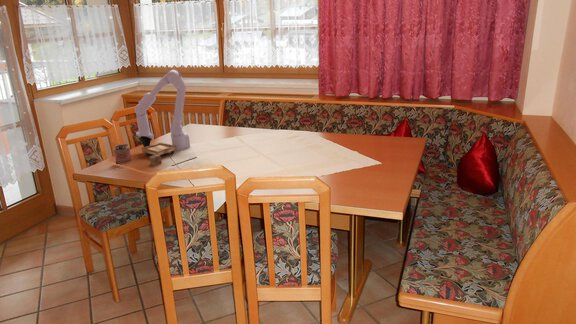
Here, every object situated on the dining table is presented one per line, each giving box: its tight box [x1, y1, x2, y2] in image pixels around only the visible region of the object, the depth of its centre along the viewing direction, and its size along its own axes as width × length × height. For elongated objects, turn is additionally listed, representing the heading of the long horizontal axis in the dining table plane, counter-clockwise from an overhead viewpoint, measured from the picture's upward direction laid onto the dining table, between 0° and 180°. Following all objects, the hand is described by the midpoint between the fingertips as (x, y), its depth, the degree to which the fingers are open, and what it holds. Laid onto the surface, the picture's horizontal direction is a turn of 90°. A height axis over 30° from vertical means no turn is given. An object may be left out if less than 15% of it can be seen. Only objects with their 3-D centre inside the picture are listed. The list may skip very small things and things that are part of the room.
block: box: [148, 154, 162, 166], centre depth 223 cm, size 4×4×5 cm
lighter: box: [113, 143, 132, 165], centre depth 230 cm, size 8×3×10 cm, turn 105°
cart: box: [141, 142, 177, 156], centre depth 238 cm, size 12×14×4 cm
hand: (147, 149), depth 245 cm, fingers closed
